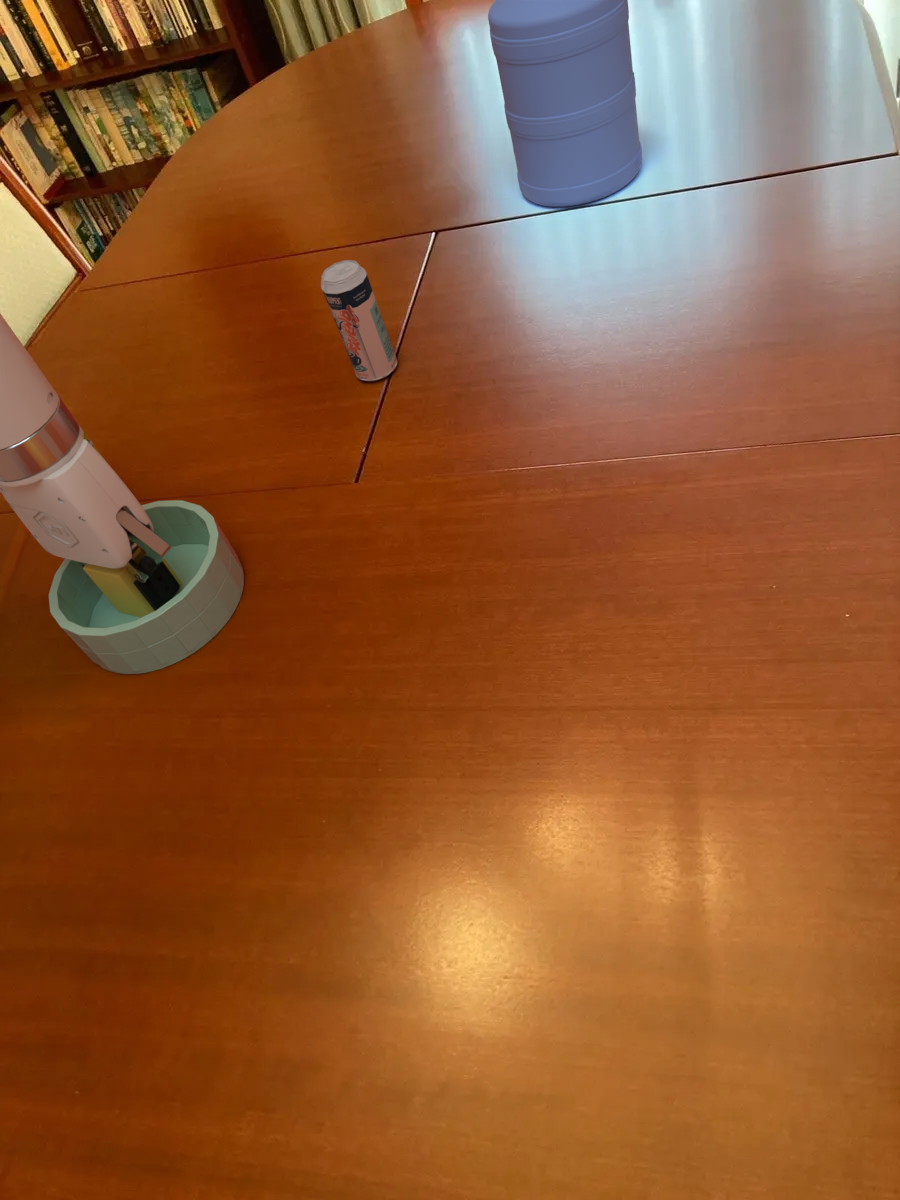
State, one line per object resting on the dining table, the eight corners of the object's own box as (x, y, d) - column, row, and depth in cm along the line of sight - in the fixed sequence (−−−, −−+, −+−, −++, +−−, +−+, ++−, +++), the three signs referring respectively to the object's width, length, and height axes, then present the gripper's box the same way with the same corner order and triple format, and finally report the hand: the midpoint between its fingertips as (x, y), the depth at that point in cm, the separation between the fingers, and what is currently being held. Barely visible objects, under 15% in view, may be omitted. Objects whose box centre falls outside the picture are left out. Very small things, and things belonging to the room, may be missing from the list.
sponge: (118, 612, 80) (82, 568, 76) (147, 575, 83) (113, 531, 78) (154, 621, 78) (119, 576, 74) (183, 583, 80) (150, 538, 76)
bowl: (67, 691, 76) (29, 653, 72) (102, 562, 86) (70, 523, 82) (236, 652, 74) (206, 610, 70) (250, 525, 84) (225, 483, 80)
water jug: (629, 204, 106) (600, -76, 85) (506, 215, 112) (451, -44, 91) (653, 142, 114) (632, -124, 94) (537, 156, 120) (494, -92, 100)
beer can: (351, 370, 97) (311, 271, 89) (389, 352, 98) (354, 252, 89) (365, 390, 94) (325, 290, 85) (405, 371, 95) (369, 269, 86)
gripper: (-77, 461, 68) (57, 609, 82) (72, 486, 61) (193, 644, 74) (-11, 400, 72) (107, 551, 86) (136, 416, 65) (241, 579, 78)
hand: (146, 593), depth 80 cm, fingers closed on sponge, 4 cm apart
